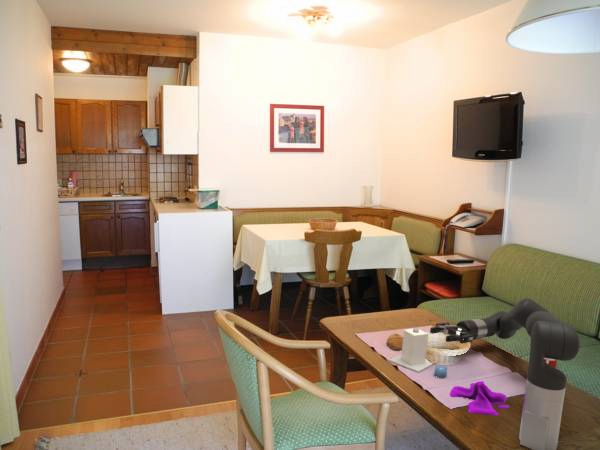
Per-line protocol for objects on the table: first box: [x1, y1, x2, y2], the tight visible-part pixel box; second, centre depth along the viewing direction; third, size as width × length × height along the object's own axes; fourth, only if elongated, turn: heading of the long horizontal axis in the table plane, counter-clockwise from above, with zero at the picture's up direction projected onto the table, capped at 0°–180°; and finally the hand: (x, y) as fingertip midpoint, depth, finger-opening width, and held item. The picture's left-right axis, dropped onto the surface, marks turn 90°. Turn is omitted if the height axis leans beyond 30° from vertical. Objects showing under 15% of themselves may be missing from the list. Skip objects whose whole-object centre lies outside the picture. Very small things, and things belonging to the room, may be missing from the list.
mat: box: [388, 353, 433, 373], centre depth 185 cm, size 12×12×1 cm
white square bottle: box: [401, 327, 429, 366], centre depth 184 cm, size 6×6×12 cm
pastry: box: [386, 333, 403, 351], centre depth 199 cm, size 9×7×4 cm
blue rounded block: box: [433, 364, 448, 379], centre depth 175 cm, size 4×4×3 cm
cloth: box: [449, 380, 510, 416], centre depth 160 cm, size 22×19×6 cm
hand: (438, 334), depth 189 cm, fingers open, 8 cm apart
